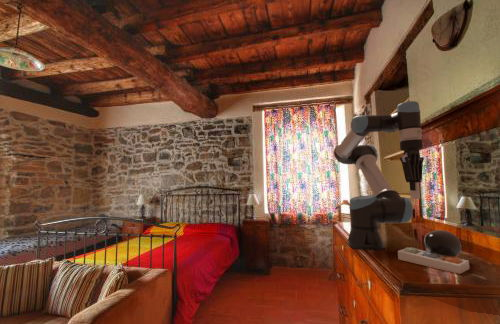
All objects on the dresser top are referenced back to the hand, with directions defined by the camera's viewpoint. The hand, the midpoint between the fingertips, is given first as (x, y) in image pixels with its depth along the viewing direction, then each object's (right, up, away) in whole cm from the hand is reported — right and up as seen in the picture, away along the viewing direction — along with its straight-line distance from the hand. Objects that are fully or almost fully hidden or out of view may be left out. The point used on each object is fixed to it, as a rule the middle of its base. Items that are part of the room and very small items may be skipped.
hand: (415, 198), depth 91 cm
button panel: (-2, -22, -10) cm, 24 cm away
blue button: (-2, -20, -10) cm, 23 cm away
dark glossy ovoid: (+11, -18, -2) cm, 21 cm away
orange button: (+1, -20, -15) cm, 25 cm away
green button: (-5, -21, -5) cm, 22 cm away
